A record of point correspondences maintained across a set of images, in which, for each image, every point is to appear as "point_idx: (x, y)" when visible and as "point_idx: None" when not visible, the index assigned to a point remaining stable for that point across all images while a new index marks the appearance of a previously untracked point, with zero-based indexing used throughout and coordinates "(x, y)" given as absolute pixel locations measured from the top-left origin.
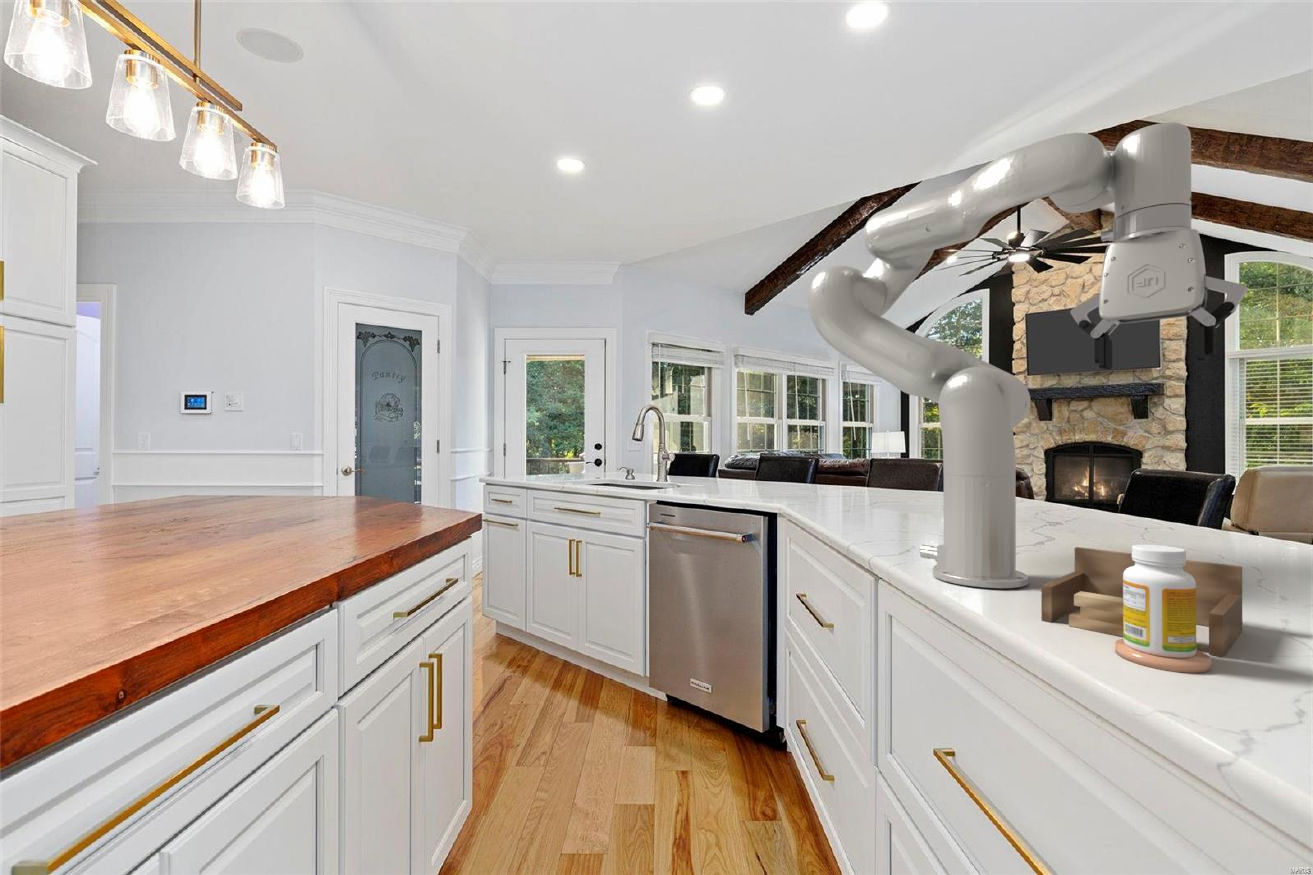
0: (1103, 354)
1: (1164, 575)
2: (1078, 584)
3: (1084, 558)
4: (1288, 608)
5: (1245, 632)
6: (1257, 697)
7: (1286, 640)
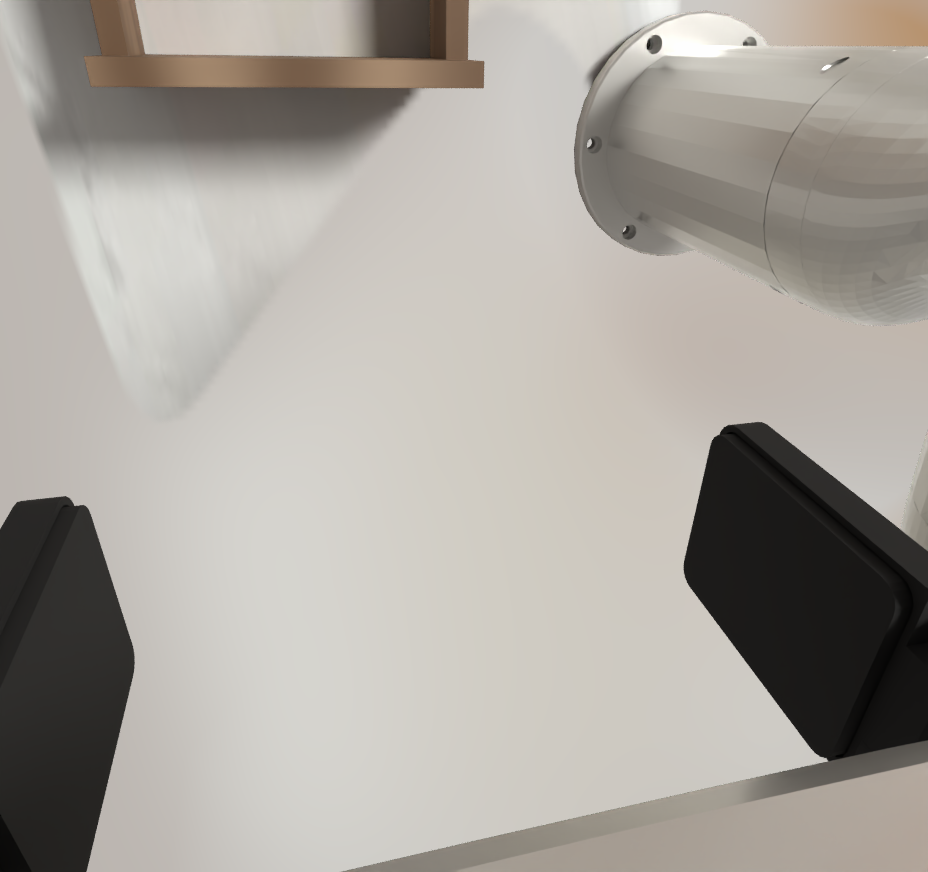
0: (795, 477)
1: None
2: (440, 3)
3: (453, 60)
4: (148, 400)
5: None
6: None
7: (40, 54)
